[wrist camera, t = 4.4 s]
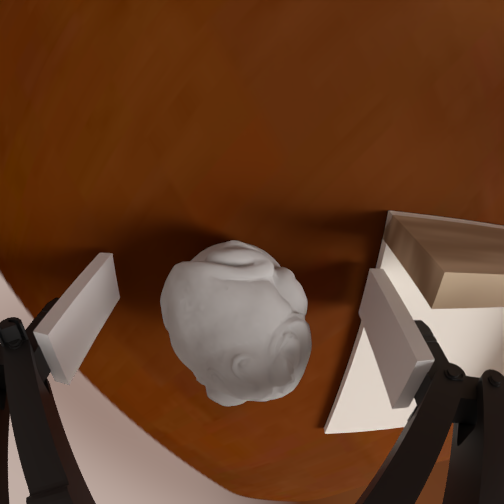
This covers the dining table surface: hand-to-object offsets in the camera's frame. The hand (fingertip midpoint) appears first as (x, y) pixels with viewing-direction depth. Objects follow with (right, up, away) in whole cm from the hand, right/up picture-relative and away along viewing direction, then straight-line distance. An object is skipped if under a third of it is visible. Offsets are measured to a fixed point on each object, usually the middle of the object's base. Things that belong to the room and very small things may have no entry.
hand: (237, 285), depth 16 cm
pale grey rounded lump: (0, +1, +1) cm, 1 cm away
